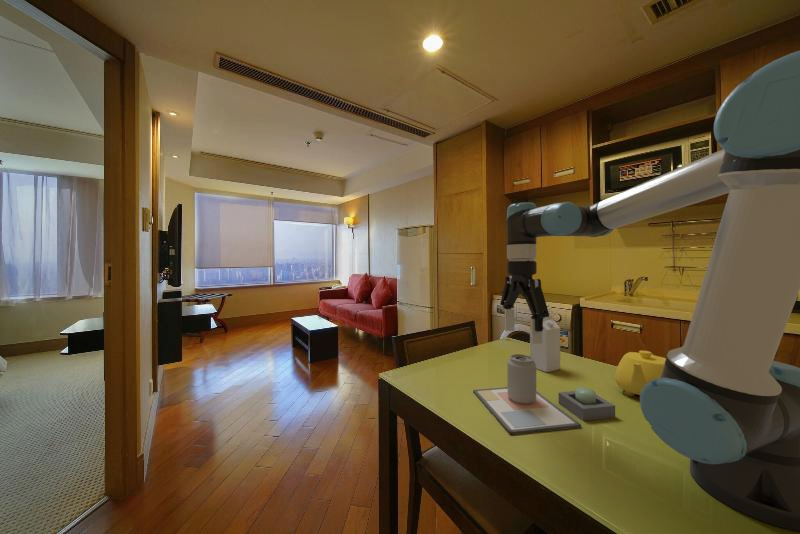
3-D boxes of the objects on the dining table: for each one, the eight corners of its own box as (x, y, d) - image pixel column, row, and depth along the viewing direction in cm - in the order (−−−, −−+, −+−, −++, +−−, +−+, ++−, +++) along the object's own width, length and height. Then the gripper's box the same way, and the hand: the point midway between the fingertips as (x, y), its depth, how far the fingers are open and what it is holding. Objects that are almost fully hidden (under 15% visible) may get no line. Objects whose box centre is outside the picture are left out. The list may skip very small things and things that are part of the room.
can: (530, 393, 86) (530, 352, 86) (540, 406, 79) (540, 361, 79) (504, 392, 87) (504, 352, 87) (511, 405, 80) (511, 361, 79)
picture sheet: (581, 427, 70) (581, 424, 70) (510, 435, 68) (510, 432, 68) (528, 387, 92) (528, 385, 92) (473, 392, 90) (473, 389, 90)
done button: (600, 407, 76) (600, 394, 76) (584, 409, 76) (584, 396, 75) (586, 399, 81) (586, 386, 81) (571, 400, 80) (571, 388, 80)
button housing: (615, 417, 74) (615, 405, 74) (582, 420, 73) (582, 408, 73) (587, 400, 83) (587, 389, 83) (558, 403, 82) (558, 392, 82)
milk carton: (529, 366, 110) (529, 315, 109) (543, 363, 113) (543, 313, 112) (546, 372, 103) (546, 318, 103) (560, 369, 106) (560, 316, 106)
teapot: (682, 394, 86) (683, 350, 86) (668, 418, 74) (669, 367, 73) (625, 379, 97) (625, 340, 96) (604, 398, 84) (604, 354, 84)
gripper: (565, 260, 70) (565, 349, 71) (511, 259, 95) (511, 325, 95) (535, 260, 69) (536, 350, 70) (488, 260, 94) (489, 326, 94)
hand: (522, 336), depth 83 cm, fingers open, 13 cm apart
